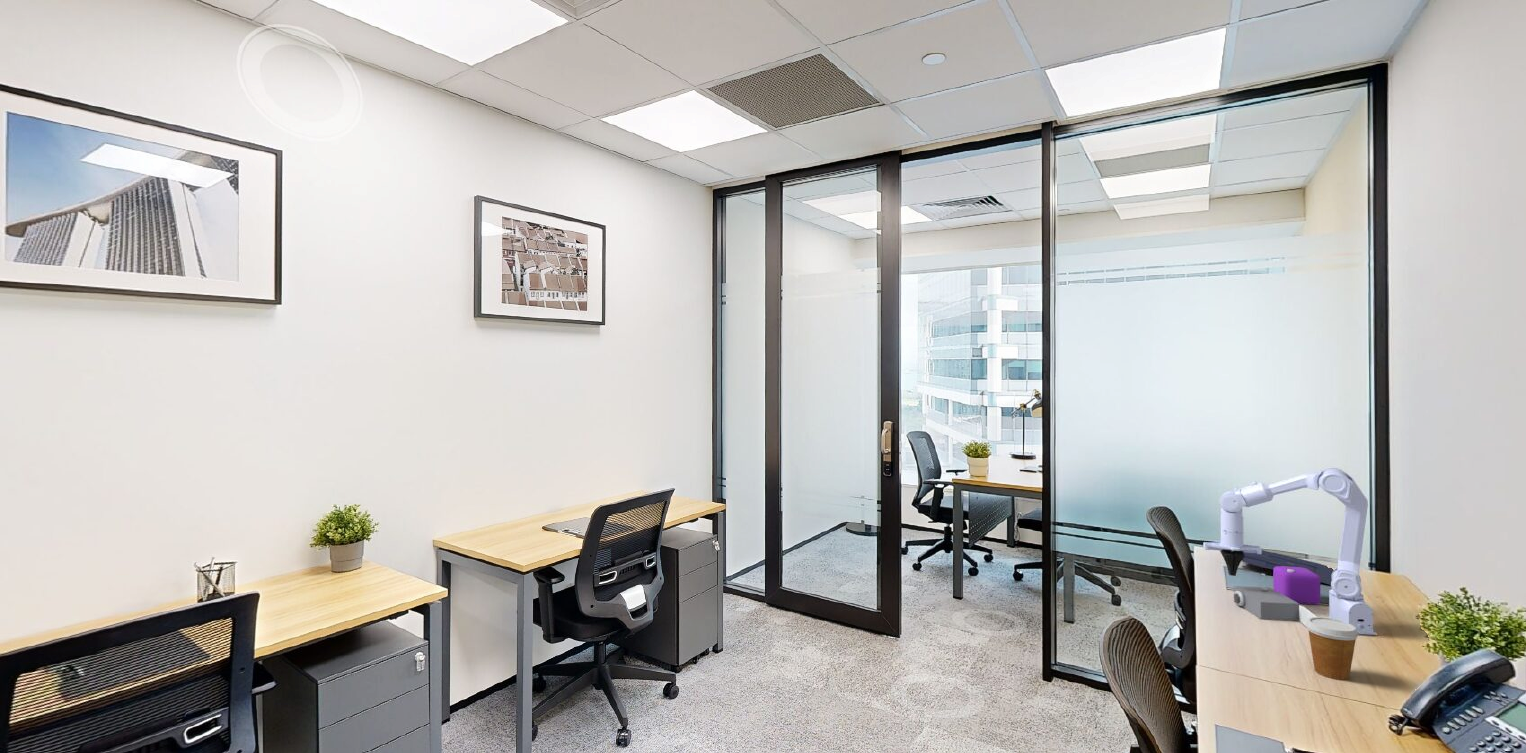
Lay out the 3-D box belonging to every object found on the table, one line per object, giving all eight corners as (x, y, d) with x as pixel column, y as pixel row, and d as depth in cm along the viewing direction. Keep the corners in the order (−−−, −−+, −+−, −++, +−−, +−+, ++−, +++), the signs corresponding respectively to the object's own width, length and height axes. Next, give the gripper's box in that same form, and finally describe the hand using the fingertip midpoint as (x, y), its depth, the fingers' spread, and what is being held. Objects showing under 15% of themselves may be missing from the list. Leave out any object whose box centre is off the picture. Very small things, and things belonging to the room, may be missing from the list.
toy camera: (1296, 591, 211) (1295, 560, 211) (1328, 606, 197) (1328, 573, 197) (1260, 590, 212) (1260, 560, 212) (1290, 605, 198) (1290, 573, 198)
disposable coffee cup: (1305, 661, 162) (1305, 613, 161) (1357, 672, 156) (1357, 622, 155) (1306, 675, 154) (1305, 625, 154) (1360, 687, 148) (1360, 635, 148)
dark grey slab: (1239, 551, 251) (1240, 542, 250) (1342, 577, 230) (1344, 567, 230) (1229, 566, 233) (1231, 556, 233) (1340, 595, 213) (1342, 585, 212)
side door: (1300, 621, 185) (1300, 606, 185) (1303, 622, 185) (1303, 606, 185) (1322, 640, 173) (1322, 624, 172) (1326, 640, 172) (1326, 624, 172)
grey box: (1303, 622, 185) (1303, 603, 185) (1258, 620, 187) (1258, 601, 187) (1271, 603, 200) (1271, 585, 200) (1229, 601, 202) (1229, 583, 202)
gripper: (1207, 532, 198) (1207, 576, 198) (1265, 535, 192) (1265, 581, 193) (1201, 526, 204) (1201, 569, 204) (1257, 530, 199) (1257, 574, 199)
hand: (1232, 574), depth 199 cm, fingers closed
